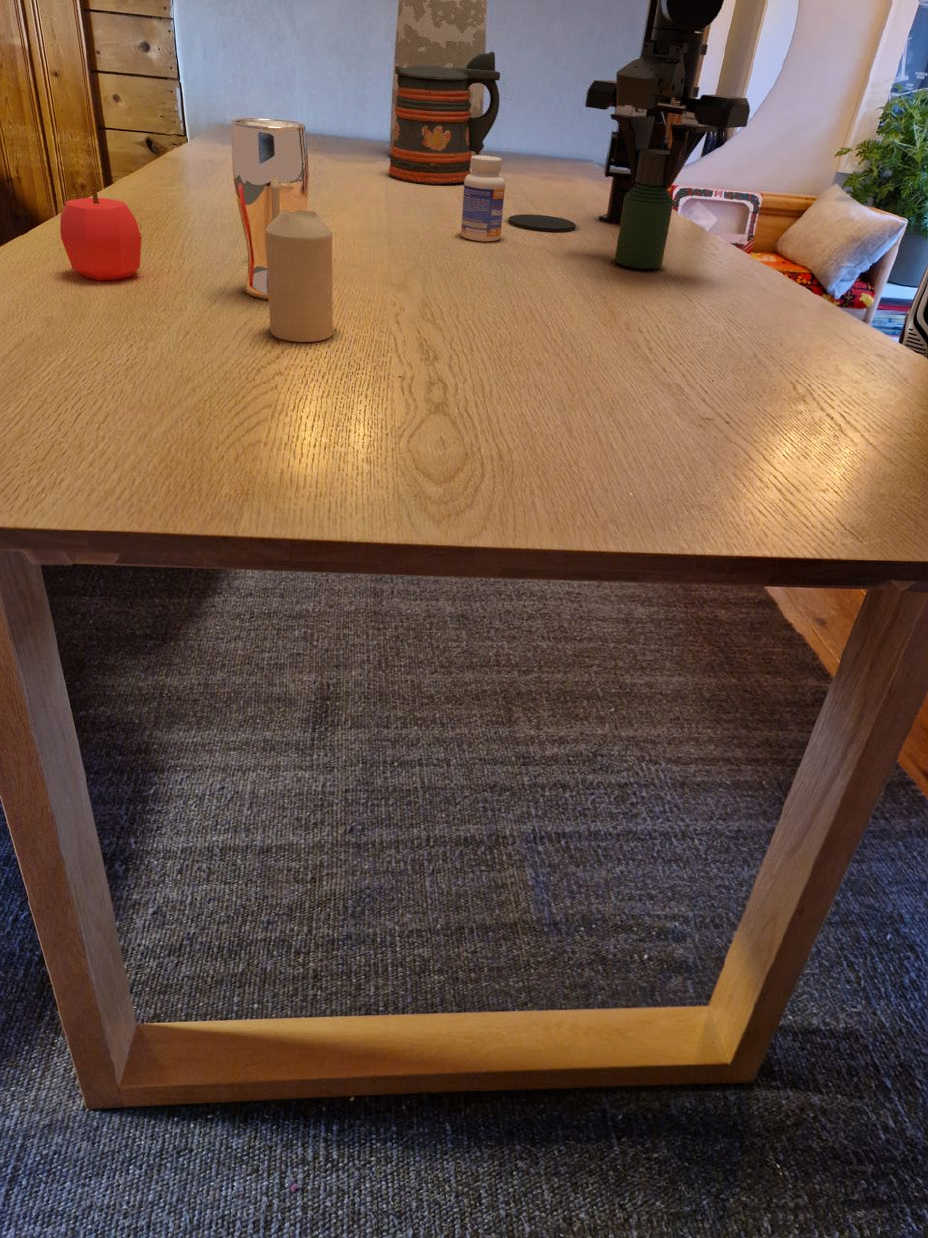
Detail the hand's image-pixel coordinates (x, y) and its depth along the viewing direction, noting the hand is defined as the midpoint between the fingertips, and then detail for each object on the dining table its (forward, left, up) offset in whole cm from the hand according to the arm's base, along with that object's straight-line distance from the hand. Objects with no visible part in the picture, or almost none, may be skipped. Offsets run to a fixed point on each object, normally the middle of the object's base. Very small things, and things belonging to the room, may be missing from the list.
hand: (650, 185), depth 105 cm
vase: (-61, -65, -10) cm, 90 cm away
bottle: (0, 0, -9) cm, 9 cm away
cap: (0, 0, 0) cm, 0 cm away
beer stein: (-39, -51, -10) cm, 65 cm away
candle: (+51, -14, -10) cm, 54 cm away
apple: (+49, -40, -10) cm, 64 cm away
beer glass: (+42, -24, -10) cm, 49 cm away
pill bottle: (+1, -22, -10) cm, 24 cm away
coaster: (-15, -20, -9) cm, 27 cm away
